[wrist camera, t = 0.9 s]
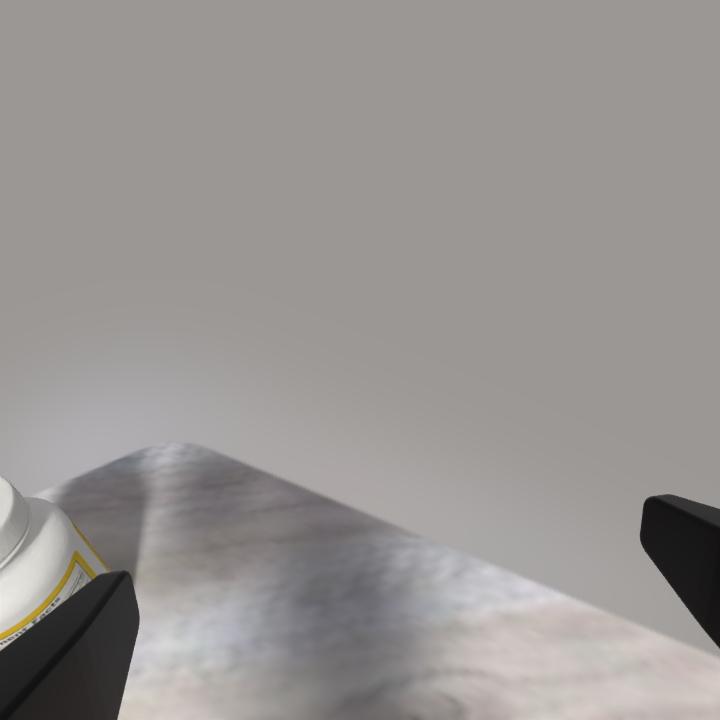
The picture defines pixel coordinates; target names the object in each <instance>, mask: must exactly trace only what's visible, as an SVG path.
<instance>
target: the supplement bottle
mask: <svg viewBox="0 0 720 720" xmlns="http://www.w3.org/2000/svg"><path fill="white" fill-rule="evenodd" d="M108 572H110V570H109V569H108V568H107V566H106V565H105V564H104V563H103V561H102V560H101V559H100V558H99V556H98V555H97V554H96V552H95V551H94V550H93V548H92V547H91V546H90V544H89V543H88V542H87V541H86V539H85V538H84V537H83V535H82V534H81V533H80V532H79V530H78V529H77V528H76V526H75V525H74V524H73V522H72V521H71V520H70V518H69V517H68V516H67V515H66V514H65V513H64V512H63V511H62V510H61V509H60V508H59V507H58V506H56V505H55V504H53V503H51V502H49V501H46V500H43V499H39V498H33V497H23V496H22V495H21V494H20V493H19V492H18V491H17V489H16V488H15V487H14V486H13V485H12V484H11V483H10V482H9V481H8V480H7V479H5V478H4V477H2V476H0V651H1V650H2V649H3V648H4V647H6V646H7V645H8V644H10V643H11V642H12V641H13V640H15V639H16V638H17V637H19V636H20V635H21V634H23V633H24V632H25V631H26V630H28V629H29V628H30V627H32V626H33V625H34V624H35V623H37V622H38V621H39V620H41V619H42V618H43V617H44V616H46V615H47V614H48V613H50V612H51V611H52V610H54V609H55V608H56V607H57V606H59V605H60V604H61V603H63V602H64V601H65V600H66V599H68V598H69V597H70V596H72V595H73V594H74V593H75V592H77V591H78V590H79V589H81V588H82V587H83V586H85V585H86V584H87V583H88V582H90V581H91V580H92V579H94V578H95V577H96V576H98V575H99V574H102V573H108Z"/></svg>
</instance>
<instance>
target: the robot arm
mask: <svg viewBox="0 0 720 720" xmlns="http://www.w3.org/2000/svg"><path fill="white" fill-rule="evenodd" d="M640 541H641V544H642V546H643V548H644V550H645V552H646V553H647V554H648V556H649V557H650V558H651V560H652V561H653V562H654V564H655V565H656V566H657V568H658V569H659V571H660V572H661V573H662V575H663V576H664V577H665V579H666V580H667V581H668V583H669V584H670V585H671V587H672V588H673V589H674V591H675V592H676V594H677V595H678V596H679V597H680V599H681V600H682V602H683V603H684V604H685V606H686V607H687V608H688V610H689V611H690V612H691V614H692V615H693V616H694V618H695V619H696V620H697V622H698V623H699V624H700V625H701V627H702V628H703V629H704V631H705V632H706V633H707V634H708V635H709V637H710V638H711V639H712V640H713V641H714V643H715V644H716V645H717V646H718V647H719V648H720V509H718V508H715V507H711V506H708V505H705V504H701V503H698V502H694V501H691V500H688V499H685V498H681V497H678V496H674V495H670V494H666V495H658V496H651V497H649V498H647V499H646V501H645V502H644V506H643V514H642V522H641V530H640ZM139 620H140V616H139V609H138V604H137V600H136V595H135V590H134V586H133V581H132V577H131V575H130V573H129V572H127V571H125V570H122V571H115V572H108V573H102V574H99V575H98V576H96V577H95V578H94V579H92V580H91V581H90V582H88V583H87V584H86V585H85V586H83V587H82V588H81V589H79V590H78V591H77V592H75V593H74V594H73V595H72V596H70V597H69V598H68V599H66V600H65V601H64V602H63V603H61V604H60V605H59V606H57V607H56V608H55V609H54V610H52V611H51V612H50V613H48V614H47V615H46V616H44V617H43V618H42V619H41V620H39V621H38V622H37V623H35V624H34V625H33V626H32V627H30V628H29V629H28V630H26V631H25V632H24V633H23V634H21V635H20V636H19V637H17V638H16V639H15V640H13V641H12V642H11V643H10V644H8V645H7V646H6V647H4V648H3V649H2V650H1V651H0V720H117V718H118V714H119V710H120V706H121V701H122V697H123V693H124V689H125V685H126V680H127V676H128V672H129V668H130V663H131V659H132V655H133V651H134V646H135V642H136V638H137V634H138V629H139Z"/></svg>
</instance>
